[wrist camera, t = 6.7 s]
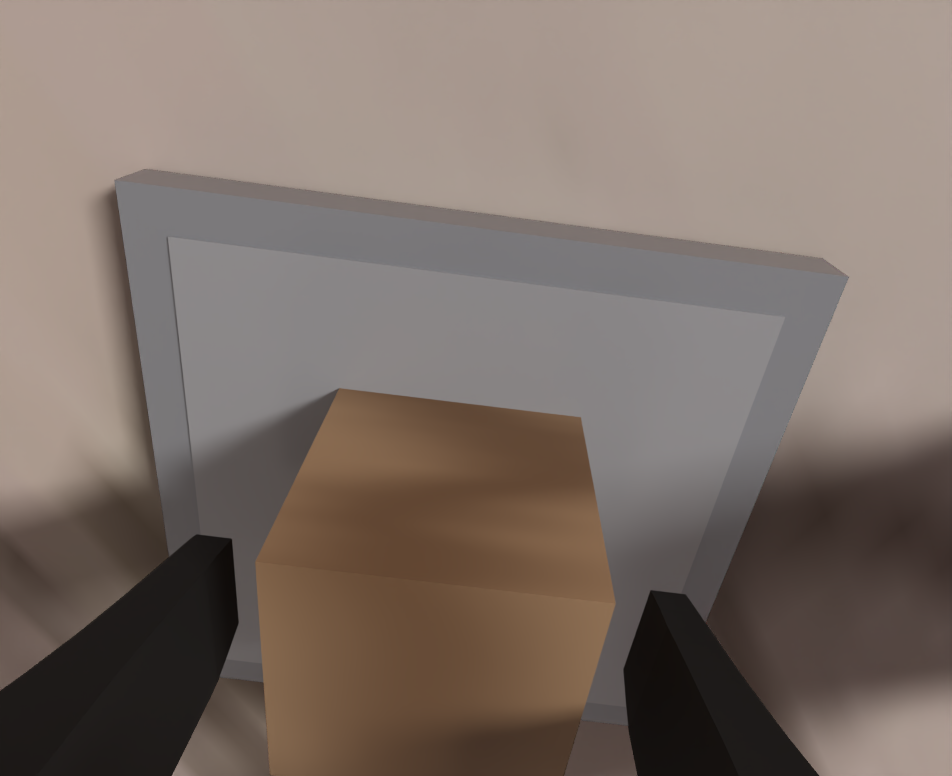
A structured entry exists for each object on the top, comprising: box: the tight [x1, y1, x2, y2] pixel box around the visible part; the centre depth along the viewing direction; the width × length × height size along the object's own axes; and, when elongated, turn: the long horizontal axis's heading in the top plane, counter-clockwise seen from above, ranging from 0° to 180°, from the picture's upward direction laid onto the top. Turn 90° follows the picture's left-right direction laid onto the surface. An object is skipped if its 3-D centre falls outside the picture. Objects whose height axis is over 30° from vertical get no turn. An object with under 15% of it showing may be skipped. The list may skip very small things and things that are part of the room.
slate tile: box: [115, 169, 849, 726], centre depth 14 cm, size 12×12×1 cm
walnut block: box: [255, 388, 616, 776], centre depth 11 cm, size 4×4×4 cm
